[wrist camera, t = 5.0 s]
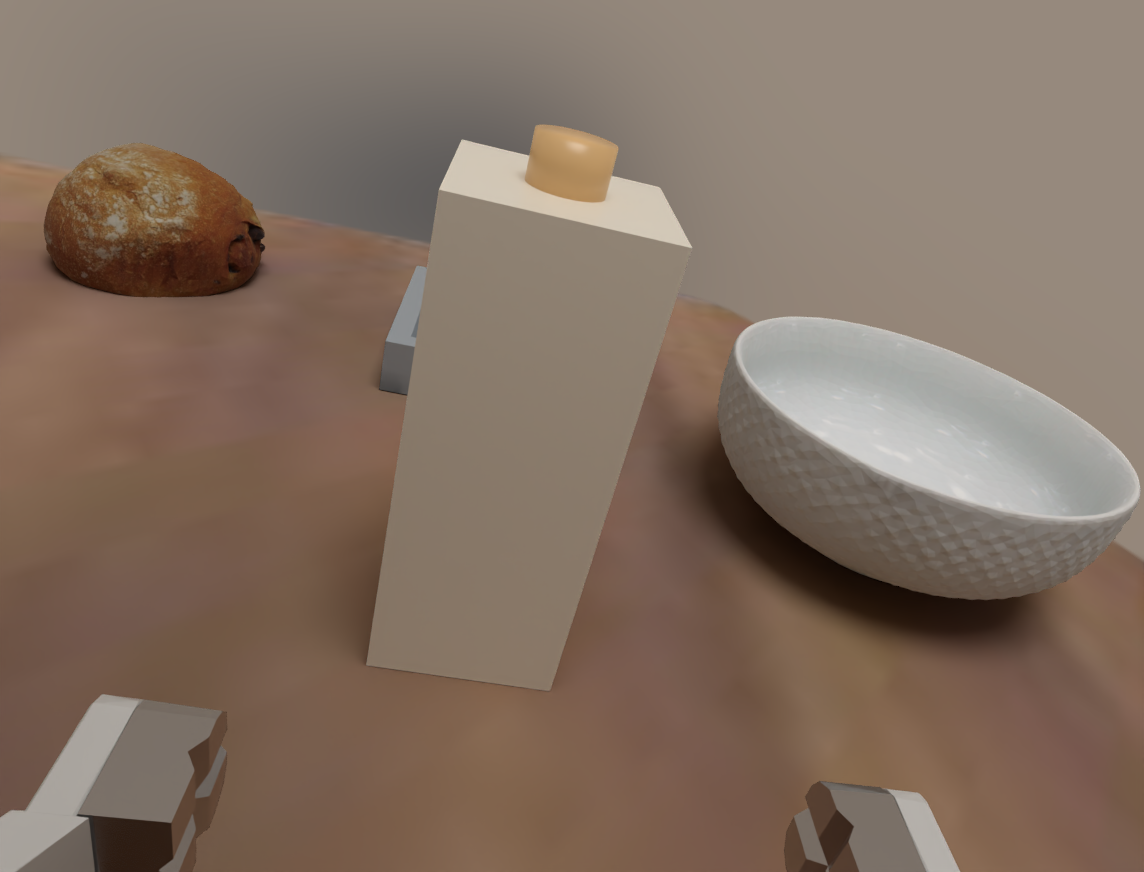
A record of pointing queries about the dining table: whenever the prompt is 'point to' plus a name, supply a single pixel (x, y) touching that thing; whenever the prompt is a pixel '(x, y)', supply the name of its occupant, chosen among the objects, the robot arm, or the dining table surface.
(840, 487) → the cereal bowl
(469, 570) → the juice box
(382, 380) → the tray
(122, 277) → the bread roll
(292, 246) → the dining table surface
